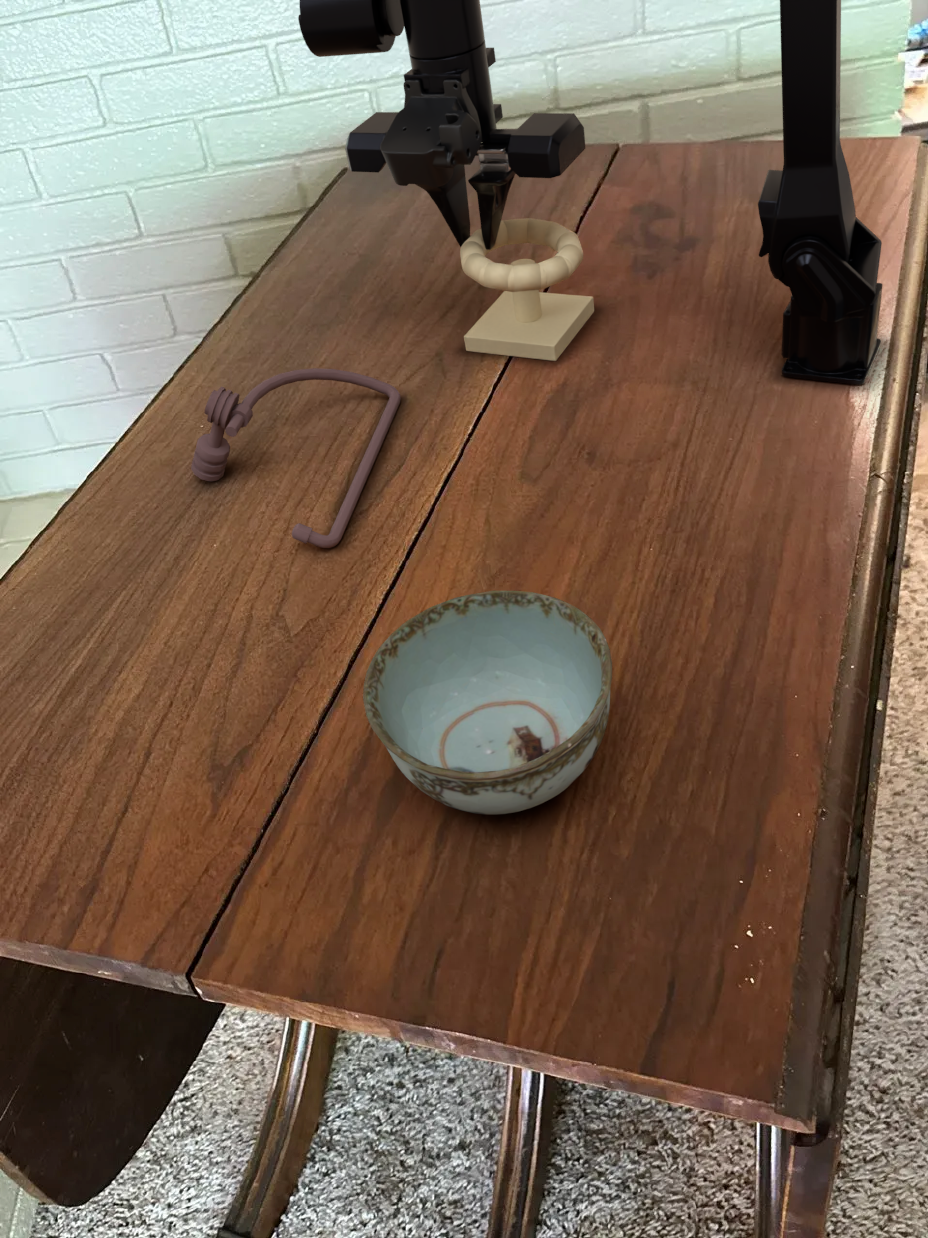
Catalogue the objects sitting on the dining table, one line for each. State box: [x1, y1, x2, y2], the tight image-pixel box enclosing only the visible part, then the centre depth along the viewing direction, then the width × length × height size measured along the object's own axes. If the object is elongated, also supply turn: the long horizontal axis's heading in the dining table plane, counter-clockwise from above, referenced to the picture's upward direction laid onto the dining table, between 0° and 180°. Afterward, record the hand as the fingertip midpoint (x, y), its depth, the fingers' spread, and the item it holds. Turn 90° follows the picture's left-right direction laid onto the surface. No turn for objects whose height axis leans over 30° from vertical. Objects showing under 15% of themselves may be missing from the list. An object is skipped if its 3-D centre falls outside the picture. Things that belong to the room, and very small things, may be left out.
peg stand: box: [463, 258, 595, 362], centre depth 97 cm, size 9×9×6 cm
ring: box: [459, 217, 584, 292], centre depth 89 cm, size 10×10×2 cm
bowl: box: [362, 590, 613, 815], centre depth 60 cm, size 14×13×8 cm
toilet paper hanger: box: [190, 367, 402, 549], centre depth 88 cm, size 22×8×14 cm
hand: (477, 246), depth 91 cm, fingers closed on ring, 2 cm apart
